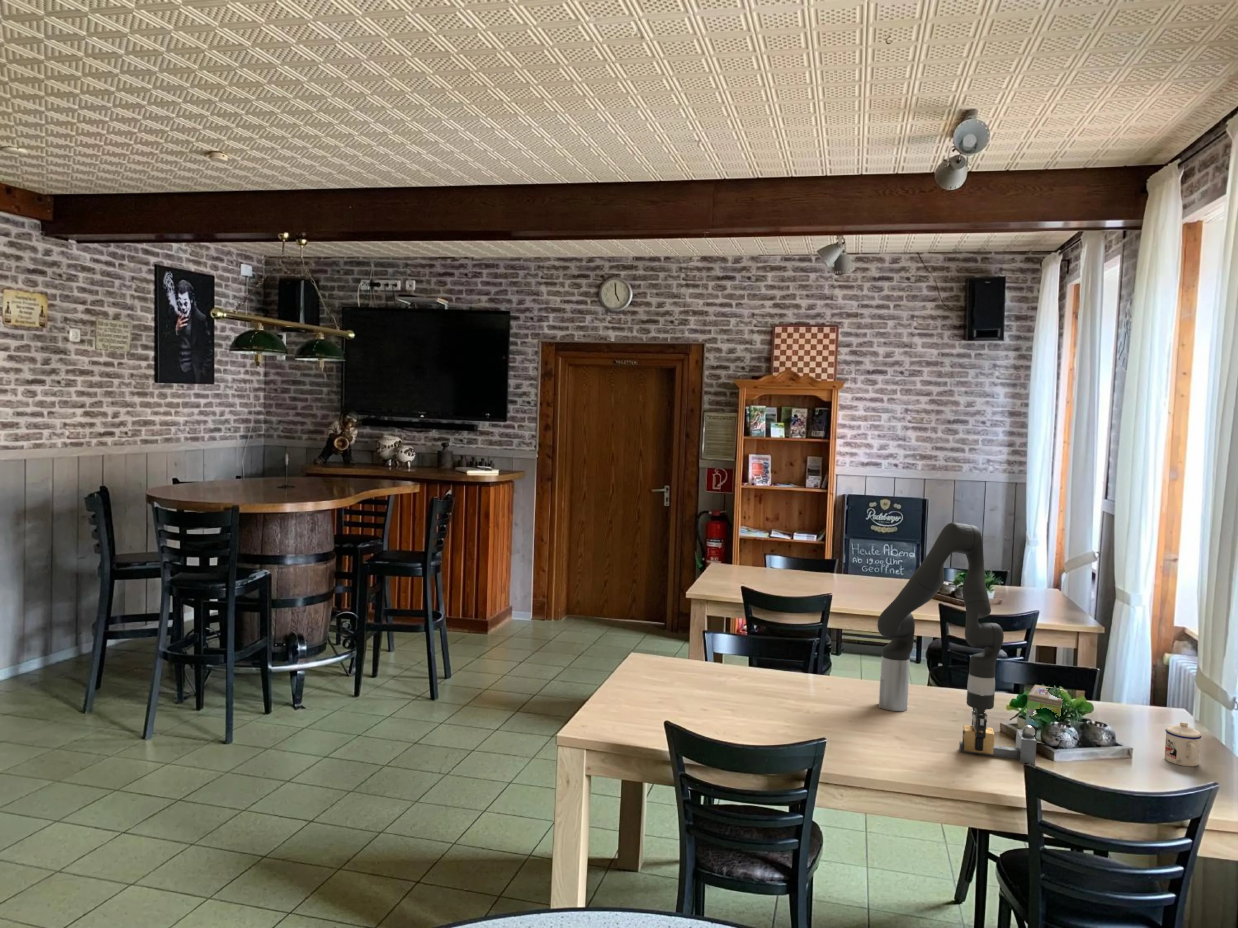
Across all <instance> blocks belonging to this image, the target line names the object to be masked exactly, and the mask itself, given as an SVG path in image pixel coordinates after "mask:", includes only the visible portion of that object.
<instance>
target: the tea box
mask: <svg viewBox="0 0 1238 928" xmlns="http://www.w3.org/2000/svg"><path fill="white" fill-rule="evenodd" d="M1046 688H1052V687H1050V686H1044V685H1040V684H1034V685H1033V687H1032V688H1031V690H1030V691H1029V692H1028V694H1027V703H1026V713H1025V714H1026V715H1025V724H1024V726H1026V725H1030V726H1032V727H1033V728H1034V729H1035V732H1036V731H1037V730H1038V724H1037V723H1036V722H1035V721H1034V720H1033V719H1031V718H1030V717H1029V716H1031V715H1033V714H1034V713H1033V712H1034V711H1035V709H1040V708H1041V709H1043V708H1047V709H1049V710H1051V711H1052V712H1054V713H1057V714H1058V716H1059V717H1060V716H1061V708H1062V700H1063V699H1061V698H1057V697H1055V696H1053V695H1051V694H1050V693H1049V692H1048V691H1047V690H1048V689H1046ZM1059 689H1060V690H1063V691H1064V692H1066V693H1069V692H1068V690H1067V689H1061V688H1059ZM1057 714H1056V715H1057Z"/></svg>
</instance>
